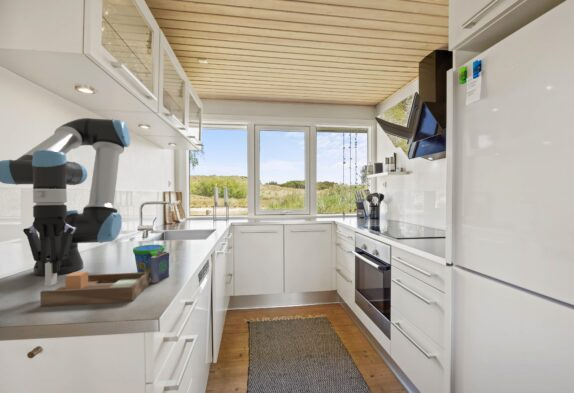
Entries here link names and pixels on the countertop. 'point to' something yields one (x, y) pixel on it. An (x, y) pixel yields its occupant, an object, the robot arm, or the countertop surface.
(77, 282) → the block
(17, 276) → the countertop surface
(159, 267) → the purple carton
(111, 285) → the wooden tray
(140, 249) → the snack cup
